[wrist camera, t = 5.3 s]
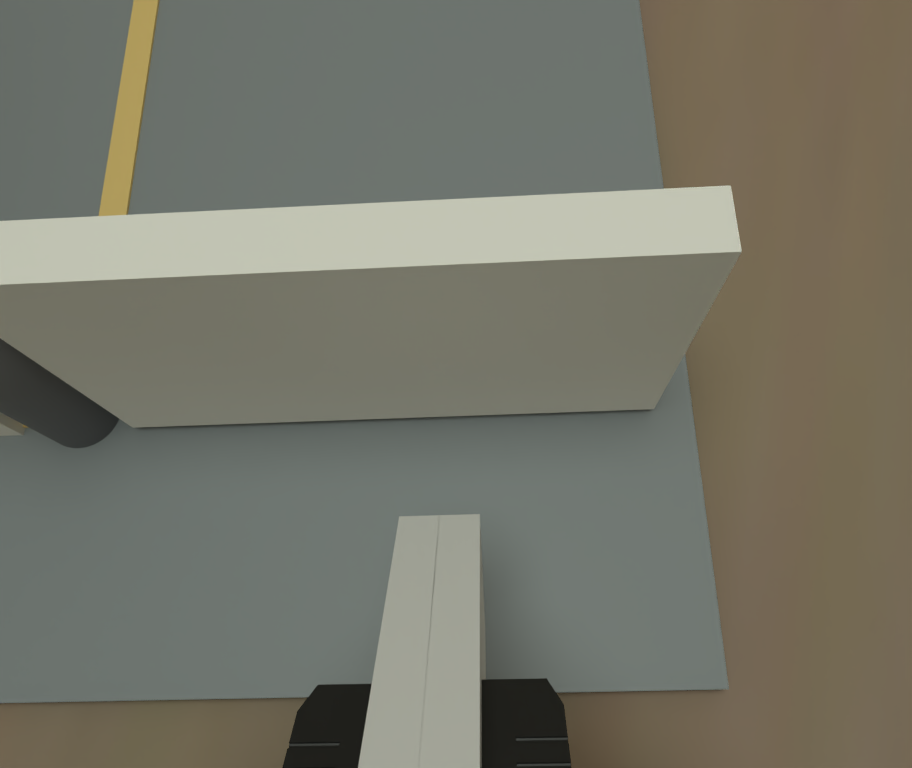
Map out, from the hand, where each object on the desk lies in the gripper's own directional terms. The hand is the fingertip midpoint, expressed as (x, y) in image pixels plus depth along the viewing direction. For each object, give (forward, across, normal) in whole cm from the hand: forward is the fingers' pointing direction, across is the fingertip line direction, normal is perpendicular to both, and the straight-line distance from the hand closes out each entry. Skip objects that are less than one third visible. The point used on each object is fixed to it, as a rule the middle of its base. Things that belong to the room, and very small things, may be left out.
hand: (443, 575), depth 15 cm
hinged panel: (+6, -1, +1) cm, 6 cm away
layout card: (+9, -8, +3) cm, 12 cm away
